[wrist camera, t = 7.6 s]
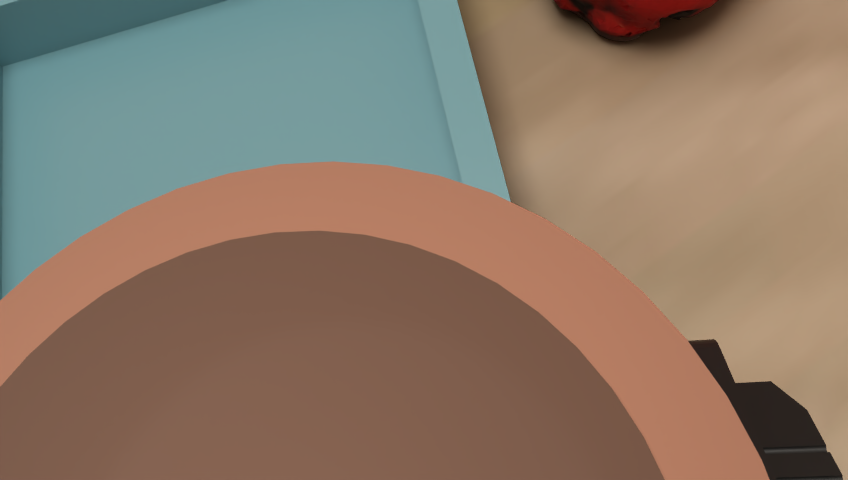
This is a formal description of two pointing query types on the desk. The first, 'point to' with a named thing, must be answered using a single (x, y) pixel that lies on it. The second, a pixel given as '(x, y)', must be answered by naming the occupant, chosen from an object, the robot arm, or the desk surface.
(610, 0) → the red clay folk toy
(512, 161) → the desk surface
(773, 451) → the robot arm
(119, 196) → the teal tray
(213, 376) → the terracotta cup
